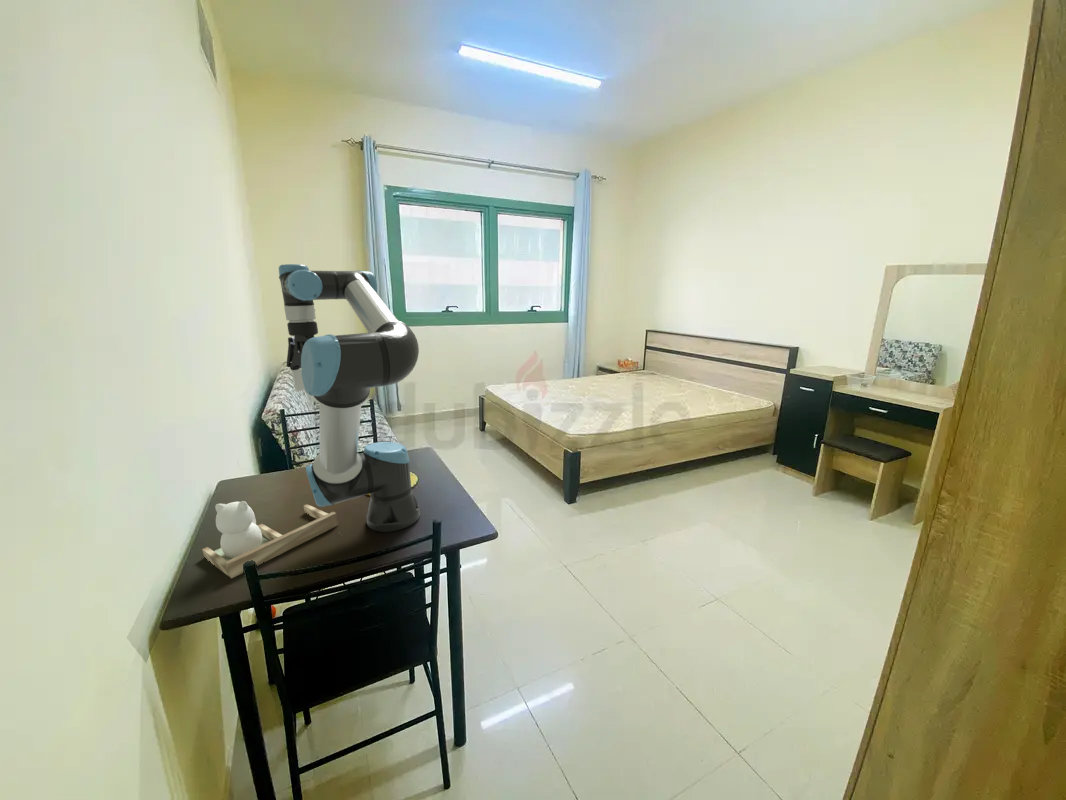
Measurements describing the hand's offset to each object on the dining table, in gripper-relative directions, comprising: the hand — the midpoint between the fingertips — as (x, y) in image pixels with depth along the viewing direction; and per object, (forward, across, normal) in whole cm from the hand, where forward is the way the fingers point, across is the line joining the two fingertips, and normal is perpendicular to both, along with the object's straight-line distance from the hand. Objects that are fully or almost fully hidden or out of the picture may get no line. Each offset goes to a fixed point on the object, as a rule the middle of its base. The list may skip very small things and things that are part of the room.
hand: (312, 393), depth 126 cm
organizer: (+37, -6, +20) cm, 42 cm away
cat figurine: (+37, -4, +27) cm, 45 cm away
